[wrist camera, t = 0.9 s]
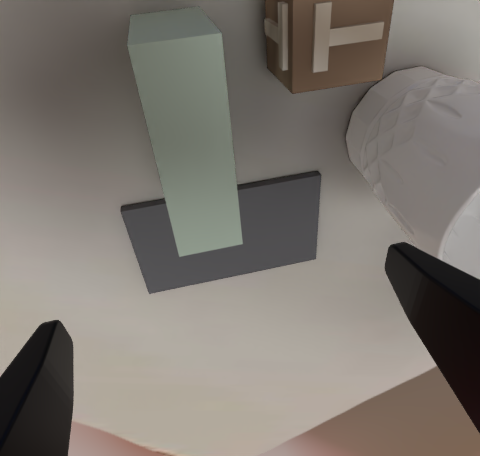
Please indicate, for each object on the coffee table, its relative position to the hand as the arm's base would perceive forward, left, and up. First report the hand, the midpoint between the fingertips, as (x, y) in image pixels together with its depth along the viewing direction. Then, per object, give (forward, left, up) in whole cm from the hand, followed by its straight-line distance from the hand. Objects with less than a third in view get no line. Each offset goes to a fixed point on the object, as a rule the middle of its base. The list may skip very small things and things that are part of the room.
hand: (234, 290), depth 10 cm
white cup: (-2, -12, -12) cm, 18 cm away
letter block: (+4, -6, -12) cm, 14 cm away
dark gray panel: (-8, -1, -12) cm, 15 cm away
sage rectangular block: (0, 0, -12) cm, 12 cm away
